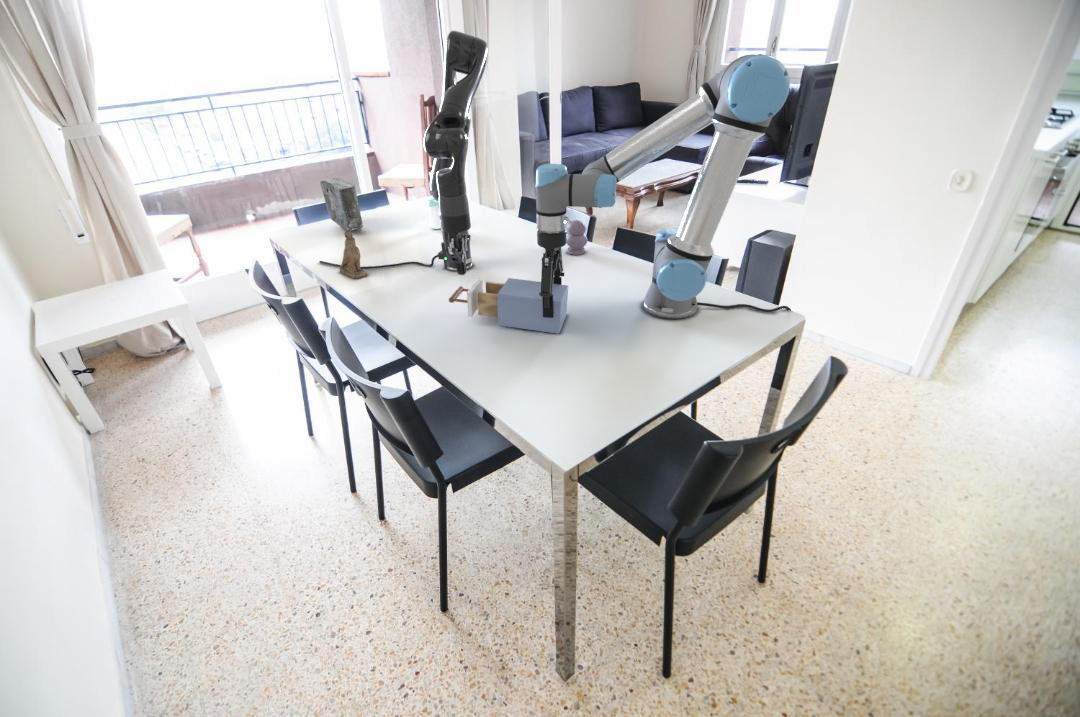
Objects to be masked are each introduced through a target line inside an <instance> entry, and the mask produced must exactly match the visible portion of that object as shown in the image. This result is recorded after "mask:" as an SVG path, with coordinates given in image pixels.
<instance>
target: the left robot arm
mask: <svg viewBox="0 0 1080 717" xmlns="http://www.w3.org/2000/svg"><path fill="white" fill-rule="evenodd" d="M445 40H446V41H445V46H444V56H443V58H444V60H443V76H442V77H443V79H442V94H441V100H440V101H441V102H440V105H439V106H440V107H439V110H438V113H437V114H436V115H435V117H434V119H432V121H431V122H430V124H429V125H428V126H427V128H426V130H425V132H424V137H423V148H424V151H425V153H426V154H427V156H429V158H431V159H433V164H432V168H431V169H432V170H431V173H430V180H429V189H430V193H431V196H432V199H435V200H437V201H439V208H440V223H441V229H440V230H441V235H442V242H441V243H440V246H441V250H440V251H439V252H437V254H436V255H434V256H433V257H432V258H431V261H430V262H431V263H430V264H424V263H422V262H419V261H405V262H398V263H391V264H390V263H389V264H384V265H371V266H368V265H367V266H360V268H361V269H362V270H370V269H382V268H383V269H384V268H391V267H399V266H404V265H405V266H406V265H412V264H413V265H419V266H423V267H427V268H428V267H430V268H431V267H433V265H434V262H435V260H436V259H438V260H442V261H443V267H444V269H445V270H449V271H454V272H457V273H456V274H457V275H459V276H465V275H466V274H467V270H469V269H471V268H472V266H473V258H472V250H471V234H469V230H470V229H471V227H472V225H471V216H470V206H469V205H470V204H469V199H468V195H467V186H466V179H465V173H466V162H467V156H468V149H469V135H470V130H471V123H472V122H471V121H472V120H471V115H470V109H471V105H472V102H473V99H474V97H475V94H476V92H477V90H478V88H479V86H480V83H481V80H482V78H483V76H484V72H485V70H486V66H487V62H488V55H489V54H488V53H489V46H488V42H487V41H485V39H482V38H480V37H477V36H474V35H470V34H468V33H464V32H462V31H457V30H451V31H450V32H449V33H448V34H447V37H446V39H445ZM457 73H459V74H462V75H465V76H464V77H463V78H461V79H459V81H458V77H457ZM318 263H320V264H323V265H327V266H332V267H337V268H340V266H341V264H337V263H332V262H327V261H323V260H319V262H318Z"/></svg>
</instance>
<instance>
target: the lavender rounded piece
mask: <svg viewBox="0 0 1080 717" xmlns="http://www.w3.org/2000/svg"><path fill="white" fill-rule="evenodd" d="M566 223H567V226H566V231H567V233H568V234H566V245H567V246H568V247H567V253H568V254H569V255H573V256H578V255H582V254H584V253H585V247H586V245H587V243H588V237H587V235H586V234H585V233H586V230H587V226H586V224H585V223H584V222H583V221H582V220H578V219H574V220H570V219H569V220H568V221H566Z"/></svg>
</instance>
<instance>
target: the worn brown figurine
mask: <svg viewBox="0 0 1080 717" xmlns="http://www.w3.org/2000/svg"><path fill="white" fill-rule="evenodd" d="M343 236H344V238H346V239H345V240H344V249H343V253H342V254H343V255H342V261H341V264H340V265H341V266H340V267H339V273H341V274H343V275H344V276H347V277H350V278H352V279H356V280H357V279H360V278H362V277H366V276H367V273H366V271H365V269H361V268H360V267H361V252H360V249H359V247H358V246H357V244H356V243H357V242H356V239H355V237H354V234H353V230H352V231H350V230H348V231H347V230H345V232H344V234H343Z"/></svg>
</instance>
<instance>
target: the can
mask: <svg viewBox="0 0 1080 717" xmlns="http://www.w3.org/2000/svg"><path fill="white" fill-rule="evenodd" d="M426 207H427V211H428V212H427V213H428V219H429V226H430V228H431V229H433V230H442V229H441V223H440V208H439V201H437V200H435V199H434V198H432V199H428V201H427V204H426Z"/></svg>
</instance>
